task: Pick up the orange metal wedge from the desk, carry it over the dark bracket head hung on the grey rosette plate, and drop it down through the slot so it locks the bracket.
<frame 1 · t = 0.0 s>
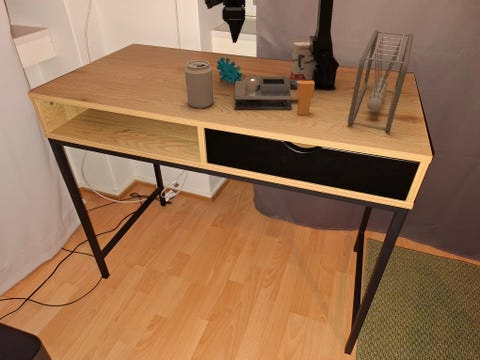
hand: (234, 38, 106), 15 cm above the table, tool pointing down, fingers open, 9 cm apart
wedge: (303, 113, 99), on the table
ink box: (304, 81, 119), on the table, touching arm
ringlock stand: (272, 101, 105), on the table
newton's cradle: (374, 108, 102), on the table
gear: (230, 82, 118), on the table
can: (201, 104, 104), on the table
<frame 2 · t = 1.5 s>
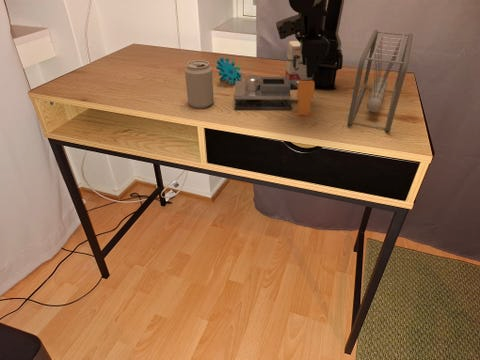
hand: (306, 70, 92), 12 cm above the table, tool pointing down, fingers open, 9 cm apart
ink box: (299, 79, 119), on the table, touching arm
everything else where it was.
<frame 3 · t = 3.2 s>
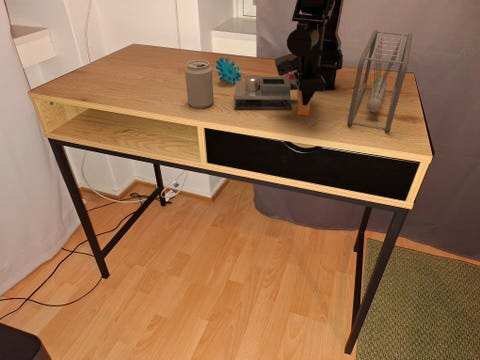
hand: (304, 103, 97), 3 cm above the table, tool pointing down, fingers closed on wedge, 2 cm apart
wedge: (302, 113, 99), on the table, touching gripper
everything else where it was.
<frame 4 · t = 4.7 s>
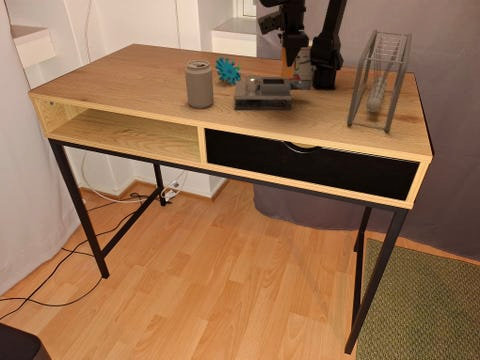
hand: (288, 65, 95), 12 cm above the table, tool pointing down, fingers closed on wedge
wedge: (287, 76, 97), point 9 cm above the table, touching gripper
ink box: (299, 79, 119), on the table
everything else where it was.
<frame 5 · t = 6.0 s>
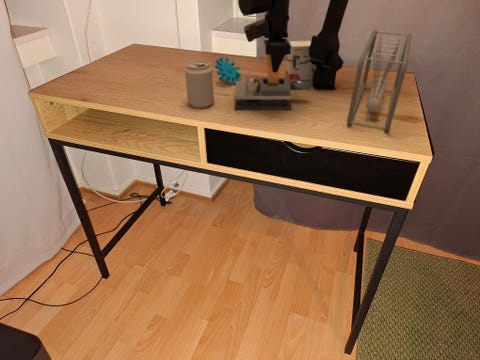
hand: (274, 70, 100), 9 cm above the table, tool pointing down, fingers closed on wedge
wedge: (273, 81, 102), point 6 cm above the table, touching gripper
everything else where it was.
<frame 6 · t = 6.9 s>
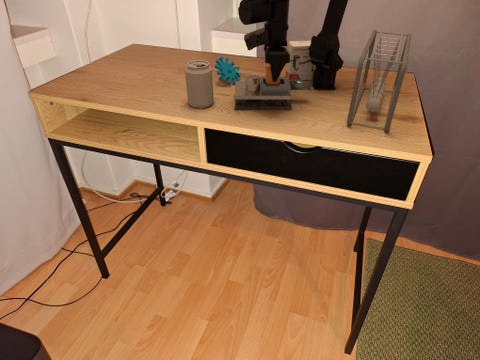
hand: (273, 78, 101), 7 cm above the table, tool pointing down, fingers open, 5 cm apart
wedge: (272, 97, 105), point 1 cm above the table, touching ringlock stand
everything else where it was.
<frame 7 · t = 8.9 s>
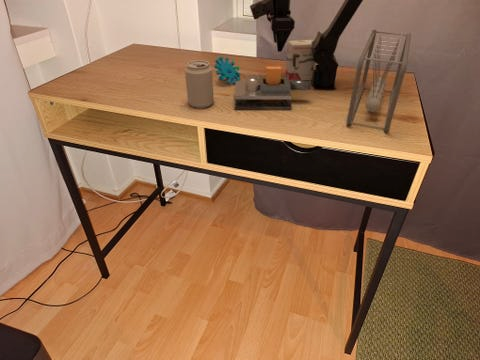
hand: (277, 46, 108), 12 cm above the table, tool pointing down, fingers open, 9 cm apart
ink box: (299, 79, 119), on the table, touching arm
everything else where it was.
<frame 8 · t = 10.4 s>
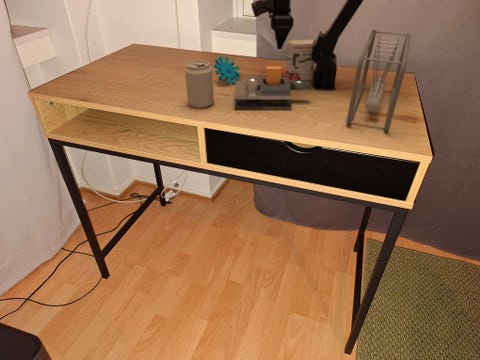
hand: (278, 44, 110), 12 cm above the table, tool pointing down, fingers open, 9 cm apart
at the end: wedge 0.2 cm off-centre on the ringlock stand, point 1.0 cm above the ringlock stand's base; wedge tilted 0°; the gripper is holding nothing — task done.
